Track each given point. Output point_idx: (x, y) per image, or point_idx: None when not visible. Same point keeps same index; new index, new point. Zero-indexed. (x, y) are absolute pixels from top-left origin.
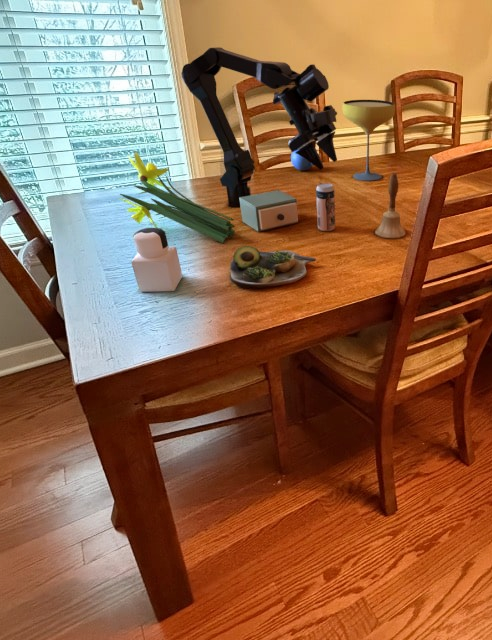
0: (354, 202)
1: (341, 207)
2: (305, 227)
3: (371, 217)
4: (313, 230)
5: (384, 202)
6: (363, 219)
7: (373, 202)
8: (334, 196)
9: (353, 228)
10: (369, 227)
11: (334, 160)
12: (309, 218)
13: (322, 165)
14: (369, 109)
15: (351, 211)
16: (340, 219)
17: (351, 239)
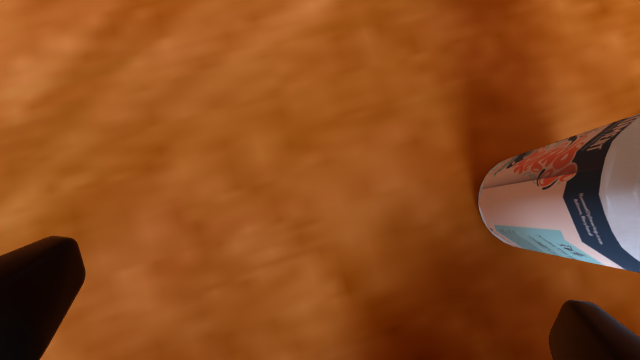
0: (79, 177)
1: (176, 222)
2: (532, 318)
3: (285, 30)
4: (560, 262)
5: (42, 24)
6: (325, 61)
7: (55, 79)
8: (612, 123)
9: (466, 74)
10: (428, 3)
11: (74, 272)
12: (394, 341)
13: (610, 324)
14: None
15: (224, 153)
16: (360, 174)
17: (614, 43)
